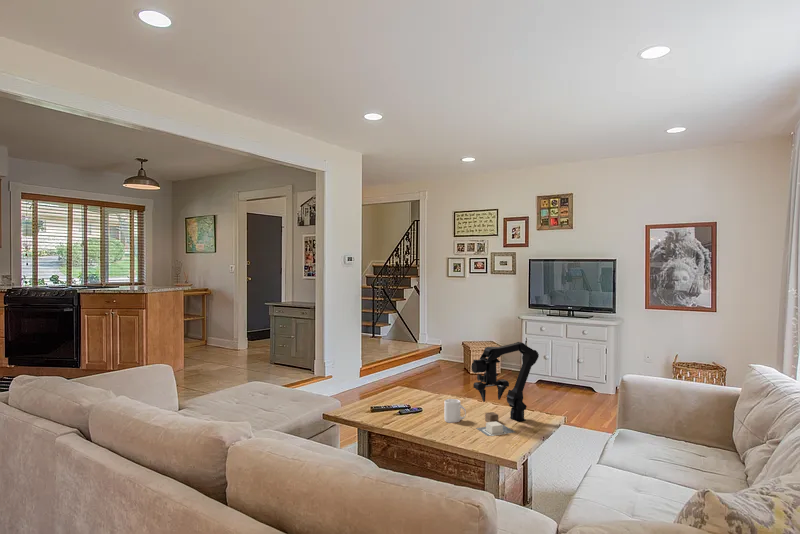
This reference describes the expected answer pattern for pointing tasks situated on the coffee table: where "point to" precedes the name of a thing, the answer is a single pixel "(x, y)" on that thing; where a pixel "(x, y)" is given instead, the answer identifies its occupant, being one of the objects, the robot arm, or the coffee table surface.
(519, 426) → the coffee table surface
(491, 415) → the walnut cube
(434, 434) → the coffee table surface
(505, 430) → the grey flat rectangular panel
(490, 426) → the base block
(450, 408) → the mug
